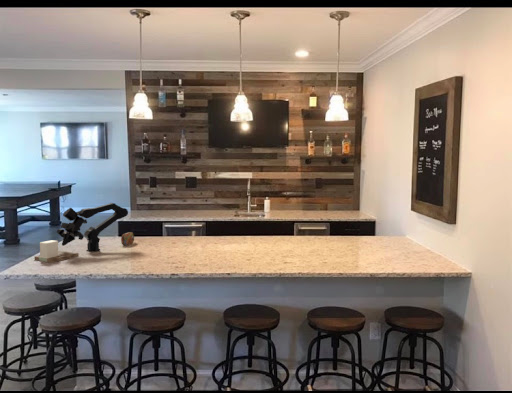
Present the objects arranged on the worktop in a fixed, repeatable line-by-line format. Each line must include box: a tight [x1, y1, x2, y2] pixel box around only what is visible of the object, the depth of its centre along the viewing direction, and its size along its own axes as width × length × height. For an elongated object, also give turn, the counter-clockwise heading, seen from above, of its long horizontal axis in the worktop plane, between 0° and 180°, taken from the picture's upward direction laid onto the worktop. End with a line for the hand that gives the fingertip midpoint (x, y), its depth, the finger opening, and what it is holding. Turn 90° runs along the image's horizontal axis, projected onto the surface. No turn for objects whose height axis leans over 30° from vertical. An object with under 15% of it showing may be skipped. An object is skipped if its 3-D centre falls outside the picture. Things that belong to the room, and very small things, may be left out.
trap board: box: [33, 250, 79, 263], centre depth 269 cm, size 20×15×2 cm
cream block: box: [39, 239, 59, 258], centre depth 263 cm, size 8×6×9 cm
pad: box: [38, 256, 56, 263], centre depth 263 cm, size 6×7×2 cm
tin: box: [120, 231, 135, 247], centre depth 311 cm, size 15×3×8 cm, turn 168°
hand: (62, 245), depth 272 cm, fingers closed
